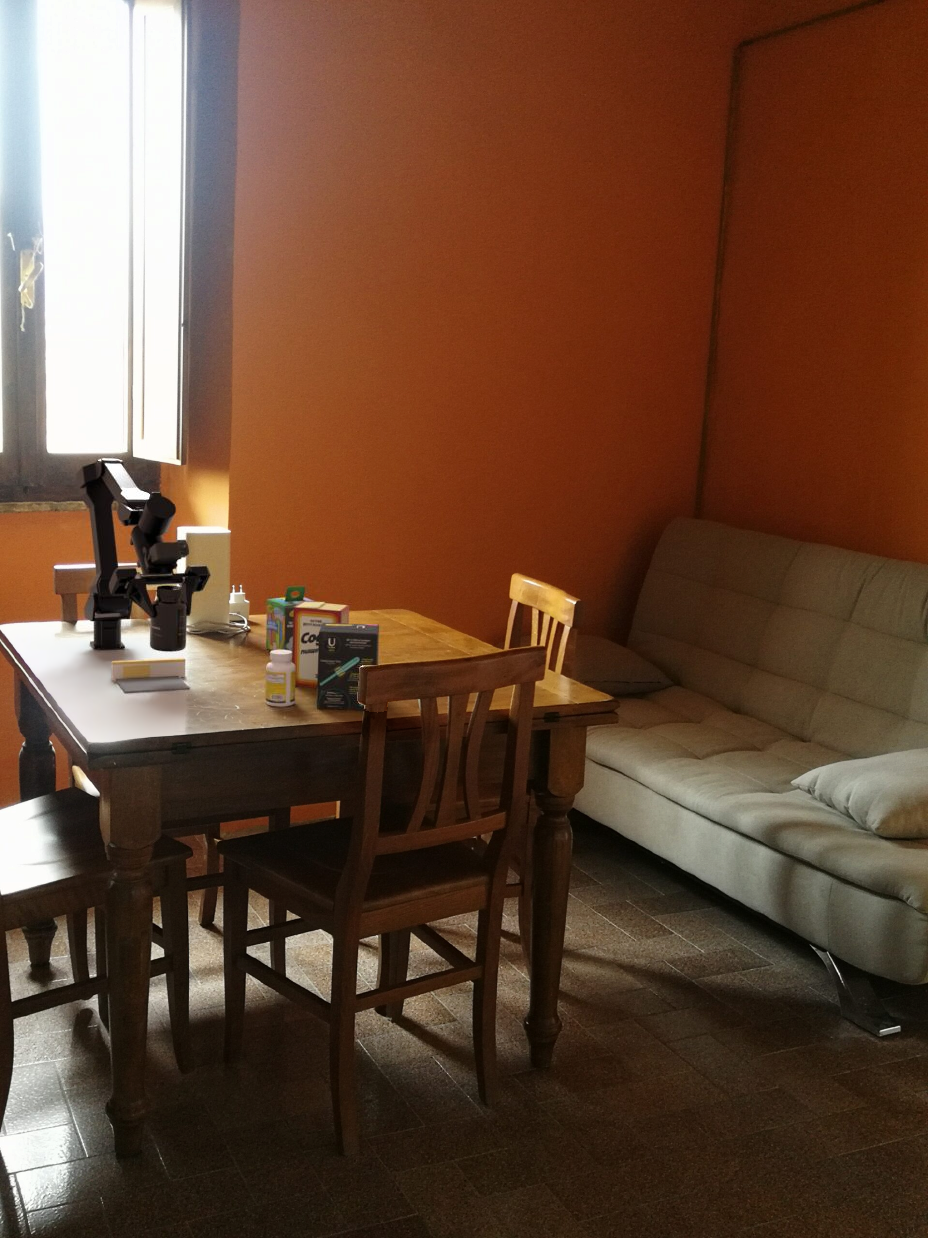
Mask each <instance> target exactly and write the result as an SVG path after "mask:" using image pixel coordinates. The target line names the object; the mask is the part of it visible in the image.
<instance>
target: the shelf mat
mask: <svg viewBox="0 0 928 1238" xmlns="http://www.w3.org/2000/svg"><path fill="white" fill-rule="evenodd" d="M115 682H116V683H117V684H118V685H119V687H120V689H121V690H122V691H123V693H125V694H127V693H129V694H130V693H147V692H163V691H165V692H166V691H167V692H168V691H182V690H183V691H185V690H186V691H187V690H190V686H189V685H188V684H186V682H185V681H184V680H183V679H182V678H181V677H179V676H164V677H145V678H125V679H116V680H115Z"/></svg>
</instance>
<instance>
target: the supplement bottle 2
mask: <svg viewBox="0 0 928 1238" xmlns="http://www.w3.org/2000/svg"><path fill="white" fill-rule="evenodd" d="M269 660H271V662H268V663H267V664H266V666H265V667H266V668H265V703H266V704H267V705H268V706H271V707H276V708H277V707H278V708H279V707H280V708H281V707H282V708H283V707H289V706H292V705H294V704H295V703H296V686H295V679H296V667H295V665H294V664H293V663H292V651H289V650H273V651H272V650H270V653H269Z"/></svg>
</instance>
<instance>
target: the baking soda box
mask: <svg viewBox="0 0 928 1238" xmlns="http://www.w3.org/2000/svg"><path fill="white" fill-rule="evenodd" d="M349 615H350V605H349V604H348V605H346V604H336V603H326V602H325V601H316V602H302V603H300V604H298V605H296V606H295V607H294V611H293V645H292V660H291V662H292V663H293V664H294V665H295V667H296V679H295V687H297V686H298V687H306V688H316V689H317V677H318V647H319V631H320V628H321V625H322V623H344V624H350V623H349V620H350V616H349Z"/></svg>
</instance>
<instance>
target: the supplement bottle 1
mask: <svg viewBox="0 0 928 1238" xmlns="http://www.w3.org/2000/svg"><path fill="white" fill-rule="evenodd" d="M155 596H156V597H157V599H155V600H154V601H152V602H151V603H152V605H153V608H154V613H155V616H154V618H151V617H150V624H149V625H150V626H149V629H150V630H149V631H150V632H149V647H150V648H151V649H152V650H154V651H158V652H166V653H168V652H170V653H171V652H180V651H184V649H186V646H187V631H188V630H187V629H188V626H187V625H188V616H187V605H186V603H185V602H184V601H182V600H181V598H182V597H183V594H182V587H180V585H173V584H167V585H157V586H156V595H155Z"/></svg>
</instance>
